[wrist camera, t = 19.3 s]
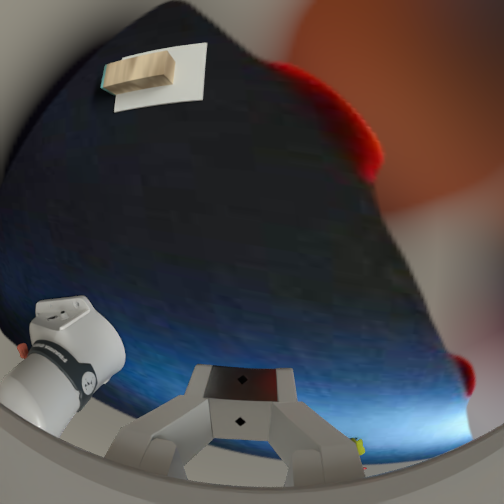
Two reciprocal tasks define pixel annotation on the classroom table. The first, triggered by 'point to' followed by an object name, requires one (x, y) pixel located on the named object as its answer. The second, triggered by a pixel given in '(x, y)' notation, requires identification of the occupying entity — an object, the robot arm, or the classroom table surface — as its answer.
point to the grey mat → (184, 83)
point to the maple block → (139, 73)
